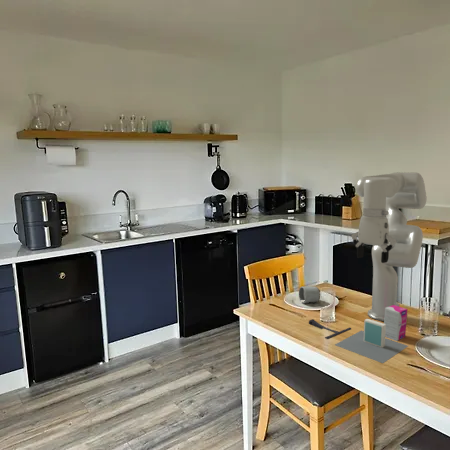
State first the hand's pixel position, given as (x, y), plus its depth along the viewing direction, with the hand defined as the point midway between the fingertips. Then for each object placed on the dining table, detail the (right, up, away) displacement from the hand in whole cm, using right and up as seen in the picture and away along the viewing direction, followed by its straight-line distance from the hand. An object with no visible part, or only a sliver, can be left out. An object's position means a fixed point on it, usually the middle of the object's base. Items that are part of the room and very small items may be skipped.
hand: (372, 259), depth 146 cm
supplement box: (+9, -29, +2) cm, 30 cm away
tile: (-1, -29, -4) cm, 30 cm away
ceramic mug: (-15, -23, +42) cm, 50 cm away
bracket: (-15, -29, +10) cm, 34 cm away
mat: (-2, -30, -5) cm, 31 cm away
